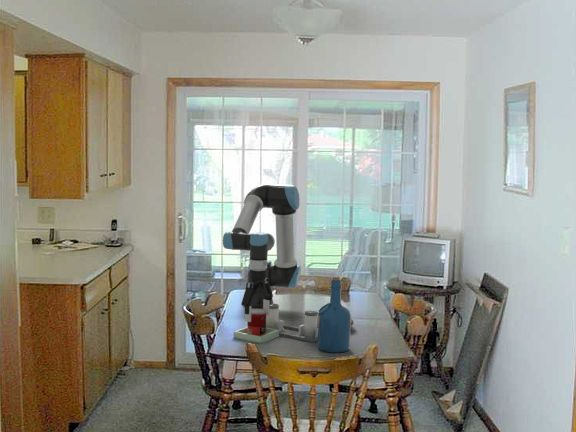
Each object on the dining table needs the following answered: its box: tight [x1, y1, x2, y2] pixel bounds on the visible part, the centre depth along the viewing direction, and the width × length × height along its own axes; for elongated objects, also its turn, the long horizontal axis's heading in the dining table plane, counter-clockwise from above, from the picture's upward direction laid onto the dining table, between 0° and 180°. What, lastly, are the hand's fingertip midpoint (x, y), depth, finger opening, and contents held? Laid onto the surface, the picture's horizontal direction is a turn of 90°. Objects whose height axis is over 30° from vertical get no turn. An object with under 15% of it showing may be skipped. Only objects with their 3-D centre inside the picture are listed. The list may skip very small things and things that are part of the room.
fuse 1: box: [266, 303, 280, 330], centre depth 308 cm, size 6×6×11 cm
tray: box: [232, 326, 280, 345], centre depth 294 cm, size 14×14×3 cm
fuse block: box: [277, 319, 318, 343], centre depth 303 cm, size 31×13×4 cm, turn 58°
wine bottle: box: [317, 275, 352, 354], centre depth 280 cm, size 14×13×30 cm
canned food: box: [247, 308, 266, 336], centre depth 294 cm, size 8×8×11 cm
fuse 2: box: [303, 310, 318, 339], centre depth 297 cm, size 6×6×11 cm
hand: (257, 318), depth 294 cm, fingers open, 13 cm apart
